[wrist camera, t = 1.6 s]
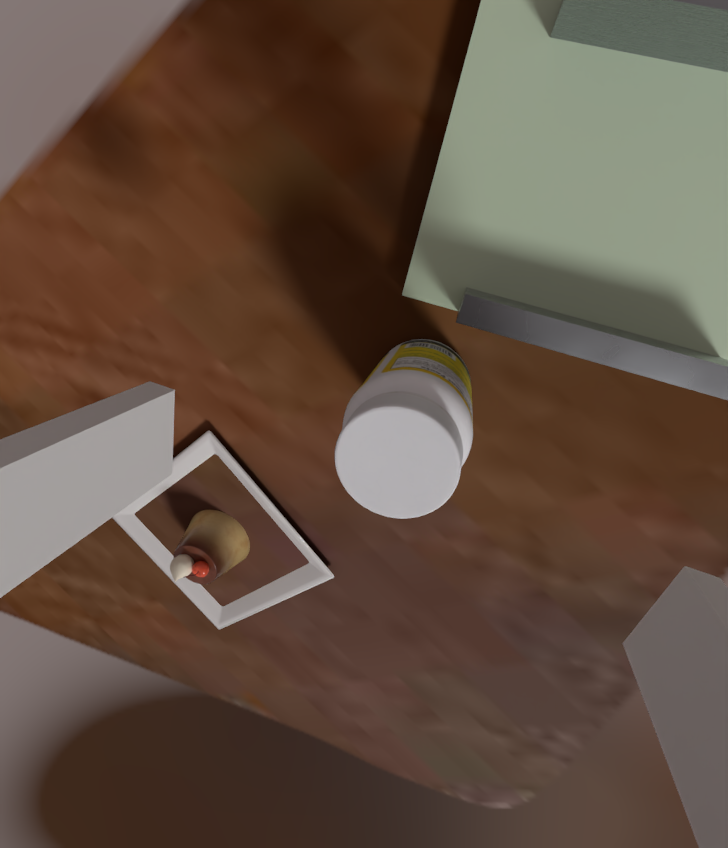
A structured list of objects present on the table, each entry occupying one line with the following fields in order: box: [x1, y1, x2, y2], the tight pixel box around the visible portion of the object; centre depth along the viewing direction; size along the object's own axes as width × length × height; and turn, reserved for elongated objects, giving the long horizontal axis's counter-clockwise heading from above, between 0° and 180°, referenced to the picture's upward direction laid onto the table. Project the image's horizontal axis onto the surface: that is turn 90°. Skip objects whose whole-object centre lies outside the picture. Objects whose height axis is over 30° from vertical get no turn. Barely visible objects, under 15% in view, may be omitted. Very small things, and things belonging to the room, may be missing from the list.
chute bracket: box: [456, 0, 728, 400], centre depth 13 cm, size 10×10×3 cm
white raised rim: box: [112, 431, 334, 629], centre depth 26 cm, size 12×12×5 cm
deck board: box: [402, 0, 728, 360], centre depth 14 cm, size 14×12×1 cm
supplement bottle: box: [335, 339, 473, 519], centre depth 16 cm, size 5×5×8 cm
